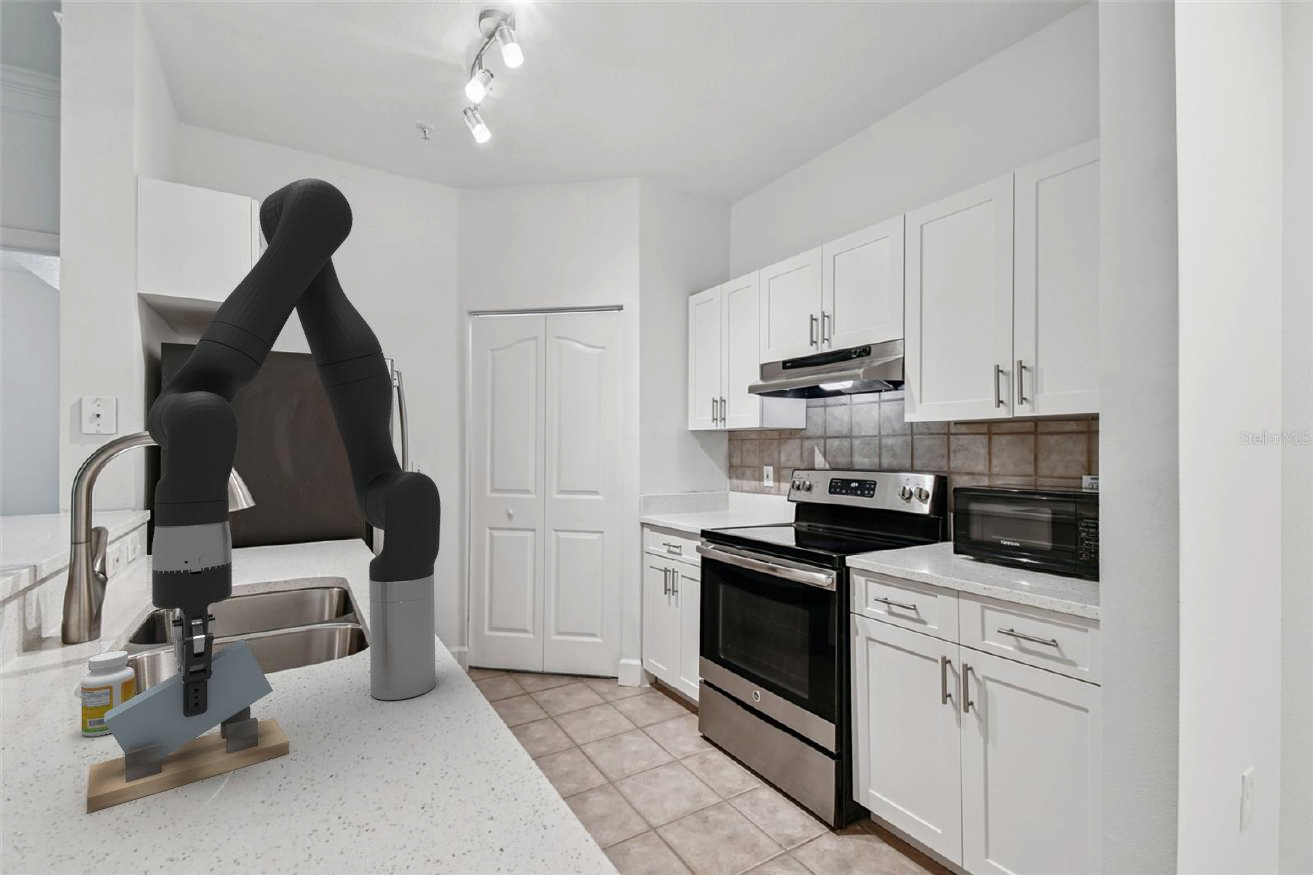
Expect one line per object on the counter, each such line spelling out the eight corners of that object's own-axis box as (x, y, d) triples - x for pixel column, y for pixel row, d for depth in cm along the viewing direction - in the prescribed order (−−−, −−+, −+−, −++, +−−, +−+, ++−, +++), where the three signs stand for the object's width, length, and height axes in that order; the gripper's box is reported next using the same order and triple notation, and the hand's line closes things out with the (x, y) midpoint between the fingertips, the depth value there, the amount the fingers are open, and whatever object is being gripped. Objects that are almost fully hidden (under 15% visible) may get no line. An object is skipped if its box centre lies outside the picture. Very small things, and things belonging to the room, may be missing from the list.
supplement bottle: (125, 716, 87) (125, 646, 87) (142, 724, 84) (141, 652, 84) (74, 732, 82) (74, 658, 82) (90, 741, 79) (90, 664, 79)
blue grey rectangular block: (268, 684, 79) (242, 638, 77) (273, 690, 77) (246, 643, 75) (137, 763, 70) (104, 713, 69) (137, 773, 68) (104, 721, 66)
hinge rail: (274, 729, 82) (274, 694, 82) (289, 753, 75) (288, 715, 75) (89, 779, 70) (89, 738, 70) (87, 813, 63) (87, 768, 63)
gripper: (149, 559, 76) (150, 701, 75) (155, 575, 65) (155, 740, 65) (223, 551, 81) (224, 685, 80) (240, 565, 70) (241, 719, 70)
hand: (193, 709), depth 73 cm, fingers closed on blue grey rectangular block, 3 cm apart
